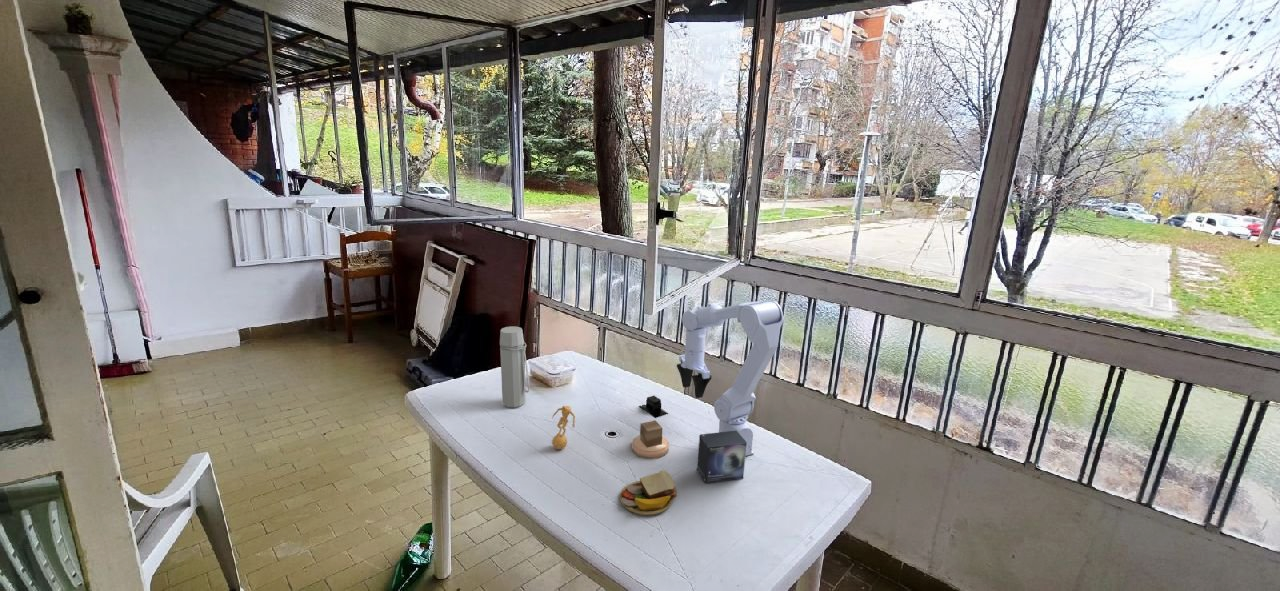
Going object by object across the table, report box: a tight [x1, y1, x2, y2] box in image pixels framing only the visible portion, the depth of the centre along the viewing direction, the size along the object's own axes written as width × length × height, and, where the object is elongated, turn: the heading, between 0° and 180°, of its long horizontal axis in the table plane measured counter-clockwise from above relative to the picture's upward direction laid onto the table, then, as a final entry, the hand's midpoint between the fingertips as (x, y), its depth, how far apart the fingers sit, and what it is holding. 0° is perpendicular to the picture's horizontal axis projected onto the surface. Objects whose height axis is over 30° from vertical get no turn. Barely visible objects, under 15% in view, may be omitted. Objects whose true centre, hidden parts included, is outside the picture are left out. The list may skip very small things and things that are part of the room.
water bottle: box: [499, 326, 531, 409], centre depth 169 cm, size 9×8×25 cm
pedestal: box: [631, 434, 670, 459], centre depth 149 cm, size 10×10×2 cm
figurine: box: [551, 405, 576, 450], centre depth 147 cm, size 8×6×12 cm
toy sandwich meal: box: [619, 469, 678, 516], centre depth 127 cm, size 12×14×5 cm
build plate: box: [637, 395, 669, 419], centre depth 170 cm, size 12×7×5 cm, turn 34°
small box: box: [696, 430, 747, 484], centre depth 136 cm, size 11×6×10 cm, turn 105°
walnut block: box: [639, 420, 664, 448], centre depth 148 cm, size 4×4×5 cm
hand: (692, 391), depth 161 cm, fingers open, 7 cm apart
